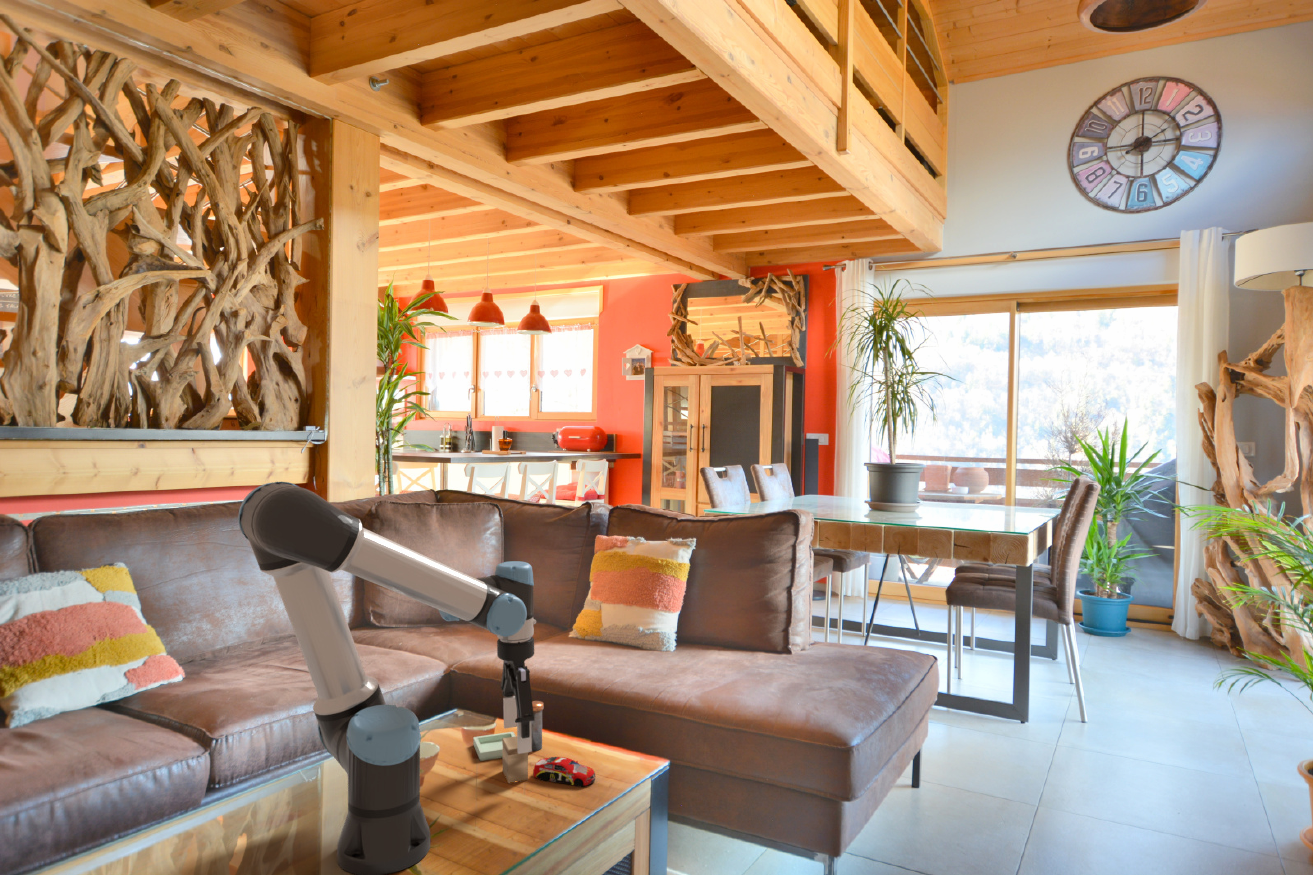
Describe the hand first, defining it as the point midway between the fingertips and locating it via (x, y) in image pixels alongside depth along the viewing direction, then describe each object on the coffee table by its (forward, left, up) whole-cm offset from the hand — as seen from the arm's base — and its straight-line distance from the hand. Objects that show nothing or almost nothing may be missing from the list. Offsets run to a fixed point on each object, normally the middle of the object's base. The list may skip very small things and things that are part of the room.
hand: (517, 739), depth 170 cm
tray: (-1, +14, -8) cm, 16 cm away
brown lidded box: (0, 0, -8) cm, 8 cm away
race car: (+9, -5, -8) cm, 13 cm away
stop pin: (+7, +12, -8) cm, 15 cm away
